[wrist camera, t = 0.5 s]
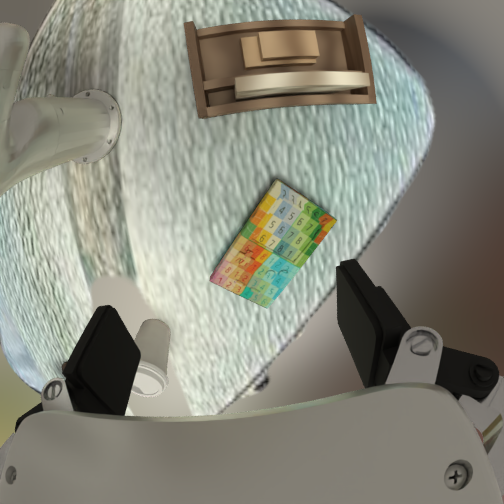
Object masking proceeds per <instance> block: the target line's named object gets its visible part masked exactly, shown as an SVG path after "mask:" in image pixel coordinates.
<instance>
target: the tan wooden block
mask: <svg viewBox="0 0 504 504" xmlns="http://www.w3.org/2000/svg"><path fill="white" fill-rule="evenodd" d="M240 44H241V50H242V56H243V62H244V68H245V70H254V69H263V68H275V67H290V66H312V65H314V64H315V63H316V58H317V57H318V56H320V55H319V50H318V44H317V39H316V34H315V31H308V30H296V31H269V32H258V35H257V36H254V37H244V38H241V40H240Z"/></svg>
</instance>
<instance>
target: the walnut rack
mask: <svg viewBox="0 0 504 504" xmlns="http://www.w3.org/2000/svg"><path fill="white" fill-rule="evenodd" d="M184 28H185V36H186V42H187V49H188V56H189V62H190V69H191V75H192V81H193V88H194V94H195V100H196V106H197V112H198V117H199V118H202V119H205V118H210V117H216V116H221V115H227V114H234V113H240V112H247V111H255V110H263V109H272V108H282V107H294V106H308V105H334V104H377V103H376V94H375V86H374V78H373V71H372V65H371V59H370V53H369V48H368V43H367V38H366V33H365V28H364V24H363V20H362V16H361V15H355V14H354V15H352V16H351V17H350V18H348V19H347V20H345V21H344V22H340V21H326V20H268V21H254V22H244V23H235V24H228V25H221V26H215V27H209V28H203V29H198V30H197V29H196V27H195V25H194V22H193V21H191V22H186V23H184ZM296 30H308V31H315V34H316V39H317V44H318V50H319V55H320V56H318V57H317V58H316V63H315V64H314V65H312V66H290V67H275V68H263V69H254V70H245V68H244V62H243V56H242V50H241V44H240V40H241V38H244V37H254V36H257V35H258V32H269V31H296ZM314 71H335V72H360V73H369V80H370V86H367V87H361V88H355V89H350V90H345V91H340V92H335V93H330V94H309V95H292V96H279V97H269V98H260V99H252V100H244V101H237V102H236V100H235V93H234V88H235V78H238V77H245V76H253V75H263V74H274V73H288V72H314Z"/></svg>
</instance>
